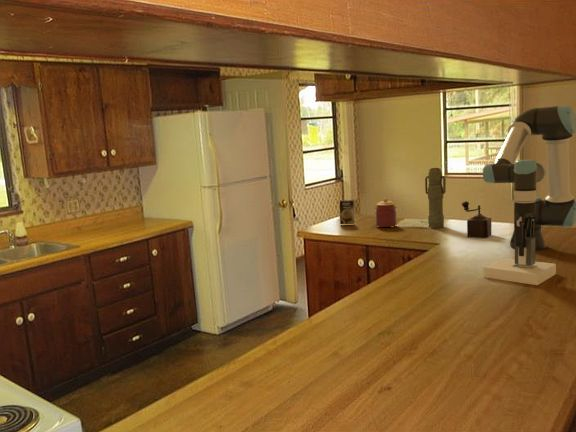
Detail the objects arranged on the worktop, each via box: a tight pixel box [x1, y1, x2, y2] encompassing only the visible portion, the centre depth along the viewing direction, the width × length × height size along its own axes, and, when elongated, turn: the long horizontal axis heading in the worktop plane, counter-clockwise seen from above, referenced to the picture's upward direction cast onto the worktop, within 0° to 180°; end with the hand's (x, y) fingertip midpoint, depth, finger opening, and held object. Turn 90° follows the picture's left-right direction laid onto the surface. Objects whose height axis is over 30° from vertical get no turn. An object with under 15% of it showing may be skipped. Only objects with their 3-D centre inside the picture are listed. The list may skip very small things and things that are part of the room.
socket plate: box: [482, 257, 557, 286], centre depth 202 cm, size 18×20×4 cm
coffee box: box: [339, 199, 355, 225], centre depth 338 cm, size 9×6×16 cm
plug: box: [514, 237, 536, 266], centre depth 199 cm, size 4×6×10 cm, turn 45°
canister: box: [374, 197, 398, 227], centre depth 325 cm, size 13×13×18 cm
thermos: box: [424, 167, 447, 229], centre depth 311 cm, size 9×12×35 cm
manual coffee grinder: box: [461, 200, 492, 239], centre depth 281 cm, size 16×11×18 cm
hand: (524, 262), depth 200 cm, fingers closed on plug, 4 cm apart
